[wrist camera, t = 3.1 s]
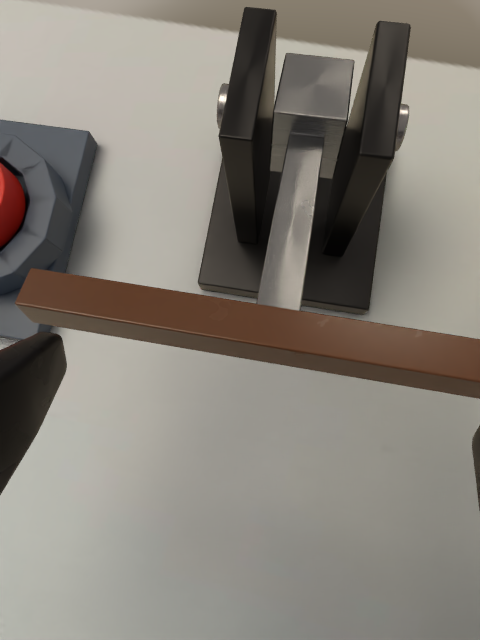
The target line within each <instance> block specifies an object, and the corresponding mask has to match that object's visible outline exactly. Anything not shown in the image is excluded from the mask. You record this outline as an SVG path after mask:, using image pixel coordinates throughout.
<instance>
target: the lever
mask: <svg viewBox="0 0 480 640" xmlns="http://www.w3.org/2000/svg"><path fill="white" fill-rule="evenodd" d="M353 69H354V60H349V59H340V58H330V57H321V56H312V55H303V54H294V53H286V55H285V60H284V64H283V69H282V73H281V78H280V82H279V87H278V91H277V96H276V100H275V105H274V109H273V119H272V134H271V149H270V164H269V170H270V171H275V172H282V174H281V179H280V184H279V189H278V194H277V200H276V205H275V210H274V215H273V220H272V226H271V231H270V236H269V241H268V246H267V252H266V257H265V262H264V267H263V272H262V278H261V283H260V288H259V293H258V298H257V304H255V303H248V302H242V301H236V300H229V299H223V298H217V297H211V296H204V295H198V294H192V293H186V292H179V291H173V290H167V289H160V288H154V287H148V286H142V285H135V284H129V283H123V282H117V281H110V280H104V279H98V278H92V277H85V276H79V275H73V274H66V273H60V272H54V271H48V270H41V269H35V268H31V269H30V271H29V273H28V275H27V277H26V279H25V281H24V284H23V286H22V288H21V290H20V292H19V294H18V297H17V299H16V301H15V305H16V306H17V307H18V308H19V309H20V310H21V311H22V312H23V313H24V314H25V315H26V316H27V317H28V318H29V319H30V320H31V321H32V322H34V323H39V324H45V325H51V326H57V327H63V328H69V329H75V330H81V331H86V332H92V333H98V334H104V335H110V336H116V337H122V338H127V339H133V340H139V341H145V342H151V343H157V344H163V345H168V346H174V347H180V348H186V349H192V350H198V351H204V352H209V353H215V354H221V355H227V356H233V357H239V358H245V359H250V360H256V361H262V362H268V363H274V364H280V365H286V366H291V367H297V368H303V369H309V370H315V371H321V372H327V373H332V374H338V375H344V376H350V377H356V378H362V379H368V380H373V381H379V382H385V383H391V384H397V385H403V386H409V387H414V388H420V389H426V390H432V391H438V392H444V393H450V394H455V395H461V396H467V397H473V398H479V399H480V339H474V338H468V337H462V336H455V335H449V334H443V333H436V332H430V331H424V330H418V329H411V328H405V327H399V326H393V325H386V324H380V323H374V322H367V321H361V320H355V319H349V318H342V317H336V316H330V315H324V314H317V313H311V312H305V311H300V309H301V302H302V295H303V288H304V281H305V274H306V267H307V260H308V253H309V246H310V239H311V232H312V225H313V218H314V211H315V204H316V197H317V190H318V183H319V177H320V178H328V179H333V178H334V174H335V170H336V166H337V162H338V158H339V154H340V150H341V146H342V141H343V137H344V133H345V129H346V125H347V121H348V113H349V104H350V96H351V87H352V78H353Z"/></svg>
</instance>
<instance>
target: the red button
mask: <svg viewBox="0 0 480 640" xmlns="http://www.w3.org/2000/svg"><path fill="white" fill-rule="evenodd" d="M24 213H25V195H24V191H23V188H22V186H21V184H20V182H19V180H18V179H17V178H16V177H15V176H14V175H13V174H12V173H11V172H10V171H9V170H8V169H7V168H6V167H5V166H4V165H2V164H1V163H0V247H2V246H3V245H4V244H6V243H7V242H8V241H9V240H10V239H11V238H12V237H13V236H14V234H15V233H16V232H17V230H18V229H19V227H20V225H21V223H22V220H23V217H24Z"/></svg>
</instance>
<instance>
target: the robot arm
mask: <svg viewBox="0 0 480 640" xmlns="http://www.w3.org/2000/svg"><path fill="white" fill-rule="evenodd" d="M66 368H67V362H66V356H65V351H64V346H63V341H62V338H61V336H60V335H58V334H54V333H48V332H39V333H37V334H34V335H32V336H30V337H28V338H26V339H24V340H21V341H19V342H17V343H15V344H13V345H11V346H9V347H6V348H4V349H2V350H0V495H1V493H2V491H3V490H4V488H5V486H6V485H7V483H8V481H9V480H10V478H11V476H12V475H13V473H14V471H15V470H16V468H17V467H18V465H19V463H20V462H21V460H22V458H23V457H24V455H25V453H26V452H27V450H28V448H29V447H30V445H31V443H32V442H33V440H34V438H35V436H36V435H37V433H38V431H39V429H40V427H41V425H42V423H43V421H44V418H45V416H46V414H47V412H48V410H49V408H50V405H51V403H52V401H53V399H54V397H55V395H56V392H57V390H58V388H59V386H60V384H61V381H62V379H63V377H64V375H65V372H66ZM472 450H473V458H474V467H475V476H476V484H477V493H478V502H479V509H480V426H479V427H478V429H477V431H476V433H475V434H474V437H473V441H472Z"/></svg>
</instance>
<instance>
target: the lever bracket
mask: <svg viewBox="0 0 480 640" xmlns="http://www.w3.org/2000/svg"><path fill="white" fill-rule="evenodd" d="M276 15H277V13H276V10H271V9H261V8H251V7H245V8H244V12H243V17H242V22H241V28H240V32H239V37H238V42H237V47H236V52H235V57H234V62H233V67H232V72H231V77H230V82H229V84H225V83H224V84H222V86H221V88H220V92H219V97H218V104H217V124H218V128H219V129H220V131H219V141H220V146H221V152H222V157H223V158H222V163H221V168H220V173H219V178H218V183H217V188H216V193H215V198H214V203H213V208H212V213H211V218H210V223H209V228H208V233H207V238H206V243H205V249H204V254H203V259H202V264H201V269H200V274H199V279H198V284H199V286H200V288H201V289H202V290H209V291H215V292H221V293H228V294H234V295H240V296H246V297H253V298H258V293H259V288H260V283H261V278H262V272H263V267H264V262H265V257H266V252H267V246H268V241H269V236H270V231H271V226H272V220H273V215H274V210H275V205H276V200H277V194H278V189H279V184H280V179H281V174H282V172H275V171H270V170H269V164H270V149H271V134H272V119H273V109H274V94H275V55H276ZM410 29H411V27H410V24H404V23H395V22H386V21H379V22H378V23H377V24H376V28H375V31H374V34H373V38H372V41H371V45H370V48H369V52H368V55H367V59H366V62H365V65H364V69H363V72H362V76H361V79H360V83H359V86H358V90H357V93H356V96H355V100H354V103H353V107H352V110H351V114H350V117H349V121H348V124H347V127H346V129H345V133H344V137H343V141H342V146H341V150H340V154H339V158H338V162H337V166H336V170H335V174H334V178H333V179H328V178H320V177H319V183H318V190H317V197H316V204H315V211H314V218H313V225H312V232H311V239H310V246H309V253H308V260H307V267H306V274H305V281H304V288H303V295H302V302H301V305H303V306H310V307H316V308H322V309H329V310H335V311H341V312H348V313H354V314H360V315H364V314H365V313H366V312H367V311H368V310H369V306H370V298H371V290H372V283H373V275H374V267H375V259H376V252H377V244H378V236H379V228H380V221H381V213H382V205H383V198H384V190H385V182H386V174H387V170H388V168H389V167H390V165H391V163H392V161H393V159H394V155H395V151H398V150H399V148H400V146H401V144H402V142H403V139H404V136H405V132H406V128H407V124H408V118H409V106H408V105H405V104H401V99H402V92H403V84H404V76H405V68H406V60H407V52H408V43H409V37H410Z"/></svg>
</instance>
